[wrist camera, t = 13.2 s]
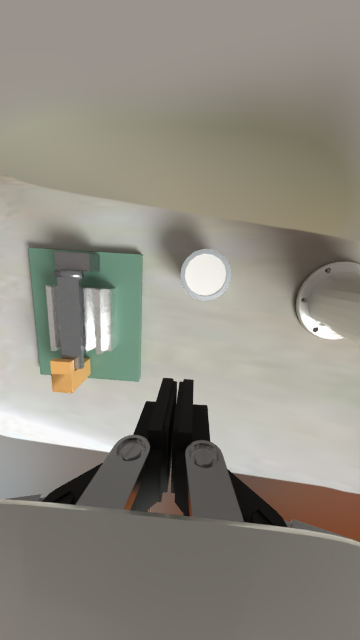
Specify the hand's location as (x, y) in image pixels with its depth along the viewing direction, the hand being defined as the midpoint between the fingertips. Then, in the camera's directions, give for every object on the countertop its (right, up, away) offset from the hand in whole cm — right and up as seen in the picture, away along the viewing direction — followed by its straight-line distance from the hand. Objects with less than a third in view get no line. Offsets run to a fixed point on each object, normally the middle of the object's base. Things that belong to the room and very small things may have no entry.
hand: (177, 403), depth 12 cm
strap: (-16, +5, +20) cm, 26 cm away
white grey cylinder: (+4, +12, +24) cm, 27 cm away
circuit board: (-16, +5, +26) cm, 31 cm away
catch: (-17, -3, +26) cm, 31 cm away
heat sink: (-16, +8, +24) cm, 30 cm away
